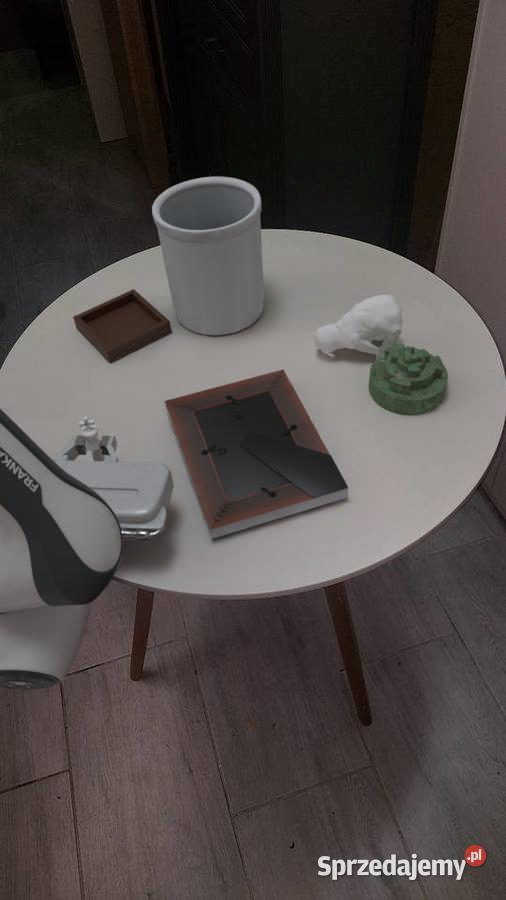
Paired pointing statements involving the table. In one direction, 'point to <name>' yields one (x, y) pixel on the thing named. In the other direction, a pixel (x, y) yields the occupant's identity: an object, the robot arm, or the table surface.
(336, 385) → the table surface
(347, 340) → the white animal figurine
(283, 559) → the table surface
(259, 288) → the utensil holder
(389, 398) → the decorative artifact
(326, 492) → the picture frame
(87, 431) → the chess piece
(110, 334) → the dark tray
